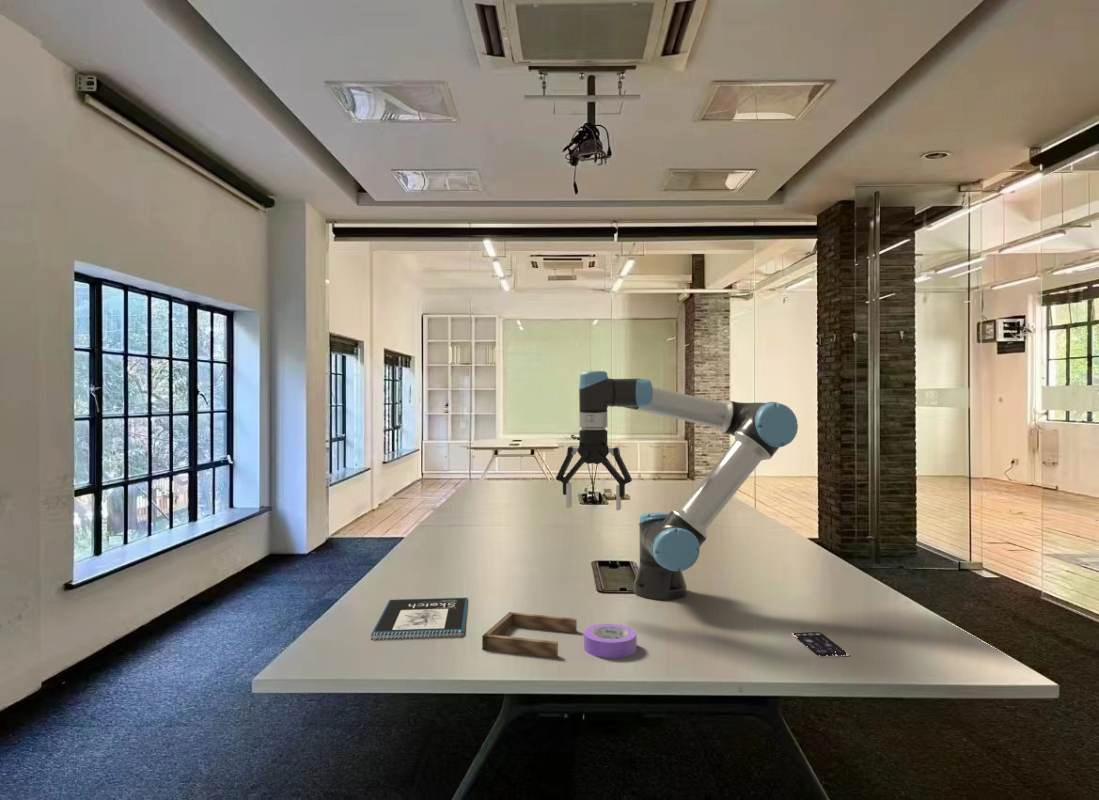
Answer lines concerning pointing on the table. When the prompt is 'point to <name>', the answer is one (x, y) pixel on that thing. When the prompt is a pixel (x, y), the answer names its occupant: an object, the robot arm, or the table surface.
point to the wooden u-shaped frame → (523, 645)
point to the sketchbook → (422, 618)
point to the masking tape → (610, 640)
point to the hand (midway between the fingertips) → (593, 508)
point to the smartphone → (819, 644)
